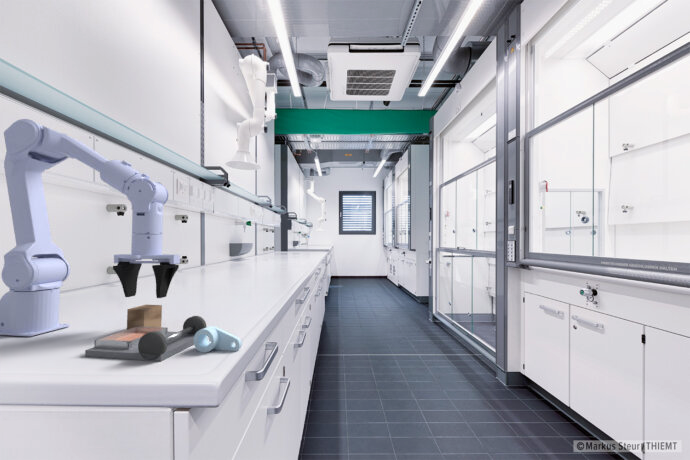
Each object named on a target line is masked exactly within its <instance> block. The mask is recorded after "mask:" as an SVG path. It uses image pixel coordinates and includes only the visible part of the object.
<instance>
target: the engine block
mask: <svg viewBox="0 0 690 460" xmlns="http://www.w3.org/2000/svg"><path fill="white" fill-rule="evenodd" d="M126 310H127V314H126V315H127V316H126V317H127V318H126V330H128V329H131V328H134V327H137V326H146V327H162V319H163V317H162V314H163V311H162V310H163V305H162V304H143V305H139V306H134V307H131V308H127V309H126Z"/></svg>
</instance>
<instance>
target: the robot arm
mask: <svg viewBox="0 0 690 460" xmlns="http://www.w3.org/2000/svg"><path fill="white" fill-rule="evenodd" d="M3 136H4V137H3V138H4V142H5V143H4V144H5V149H6V152H5V155H4V156H5V157H4V160H3V168H4V174H5V181H6V187H7V188H6V189H7V193H8V194H7V195H8V200H9V206H10V213H11V219H12V226H13V232H14V237H15V238H14V239H15V243H16V244H15V246H14V247H13V248H12V249H10V250H9V251H8V252H6V253H5V254H4V255H3V259H4V260H3V261H4V263H3V267H2V270H1V279H2V282H3V284H5V286H6V287H8V288H9V289H8V290H9V291H7V292H5V293H3V295H2V296H1V298H0V336H16V337H33V336H36V335H41V334H44V333H49V332H52V331H55V330H61V329H64V328H68V327H70V326H71V325H70V324H69V323H60V322H59V321H60V299H61V297H60V296H61V287H63V284H64V283H63V282H65V281H66V280H68V278H69V276H70V274H71V267H70V266H71V265H70V264H69V262H68V261H67V259H66V258H65V256H64V250H63V249H61V248H60V247H59V246H58V245H56V244H55V243H54V242H53V238H52V233H51V228H50V220H49V214H48V207H47V202H46V196H45V194H46V193H45V189H44V182H43V177H42V173H44V172H45V171H46V170H49V169H51V168H53V167H55V166H56V165H59V164H61V163H62V162H64V161H66V160H68V159H74V160H75V159H76V160H77V161H79V162H81V163H82V164H85V165H86V166H87V167H89V168H91V169H93V170H95V171H97V172H98V173H99V178H100V180H101V181H102V182H103V183H106V184H107V185H108V186H110V187H112V188H113V189H115V190H116V191H118V192H120V193H122V194H123V195H125V196H126V198H127V200H128V201H129V202H130V204H131V211H132V214H131V216H132V217H131V249H130V250H131V252H130V254H129V253H128V254H127V253H126V254H125V253H122V254H120V253H119V254H113V264H117V265H113V266H112V270H113V271H114V273H115V274H116V275H117V278H118V279H119V282H120V284H121V287H122V289H123V294H124V297H125V298H130V297H135V296H136V295H137V287H138V285H137V284H138V278H139V273H140V270H141V268H142V265H143V264H151V267H152V271H153V274H154V278H155V295H156V299H163V298H166V297H167V295H168V291H169V288H170V285H171V283H172V280H173V278H174V276H175V274H176V272H177V271H178V270H179V267H180V262H181V255H180V254H169V253H168V254H165V253H164V254H163V232H164V231H163V230H164V226H163V225H164V205H166V203H167V202H168V199H169V191H168V189H167V187H166V186H164V185H163V184H162V183H161V182H157V181H153V180H151V179H150V178H151V176H150V175H148V174H147V173H144V172H143V173H141V171H138V170H137V169H134V168H133V167H132V166H133V164H132V163H130V162H128V161H126V160H125V159H124V160H122V161H121V160H119V159H113V160H109V159H107V158H106V157H104V156H103V155H102V154H100V153H99V152H97V151H96V150H94V149H92V147H90V146H88V145H87V144H85V143H84V142H82V141H80V140H79V139H76V138H73V137H71V136H69V135H67V134H66V133H62V132H59V131H57V130H54V129H52V128H50V127H47V126H46V125H45V126H44V125H41V124H39V123H37V122H36V121H34V120H32V119H27V118H21V119H18V120H16V121H14V122H12V124H11V125H10V126H9V127H8V128H6V129H5V130H4V131H3ZM154 264H155V265H154Z"/></svg>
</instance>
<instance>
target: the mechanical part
mask: <svg viewBox="0 0 690 460" xmlns="http://www.w3.org/2000/svg"><path fill="white" fill-rule="evenodd" d="M242 344H243V343H242V340H241V338H240V337H239V336H237V335H235V334H232V333H230V332H228V331H226V330H224V329H222V328H220V327H218V326H215V325H208V326H206V328H204V329H201V330H199V331H198V332H197V333H196V334H195V336H194V345H193V346H194V347H195V349H196V350H197V351H198V352H200V353H201V352H202V353H208V352H211V351H212V350H218V351H232V352H237V351H239V350H240V349H241V348H242V346H243V345H242Z"/></svg>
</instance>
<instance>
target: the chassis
mask: <svg viewBox="0 0 690 460" xmlns="http://www.w3.org/2000/svg"><path fill="white" fill-rule="evenodd" d="M182 324H183V325H182V329H181V330H179V331H168V327H165V326H161V327H146V326H137V327H134V328H131V329H128V330H127V329H125V330H121V331H118V332H116V333H113V334H112V333H111V334H110V335H107V336H106V335H105V336H104V337H100V338H98V339H95V340H94V345H93V346H94V347H90V348H88V349H85V350H84V354H85V355H84V356H85V357H92V358H106V359H122V360H133V361H135V360H136V361H139V360H140V361H149V362H150V361H152V362H162V361H165V360H166V359H168V358H171V357H173V356H175V355H177V354H178V353H180V352H182V351H184V350H185V349H188V348H190V347H192V346H195V345H194V336H195V334H196V333H197V332H198V331H199V330H201V329H204V328H206V327H207V323H206V321H205V319H204V318H203V317H202V316H200V315H192V316H190V317H188V318H187V319H185V320H184V322H183V323H182Z"/></svg>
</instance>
